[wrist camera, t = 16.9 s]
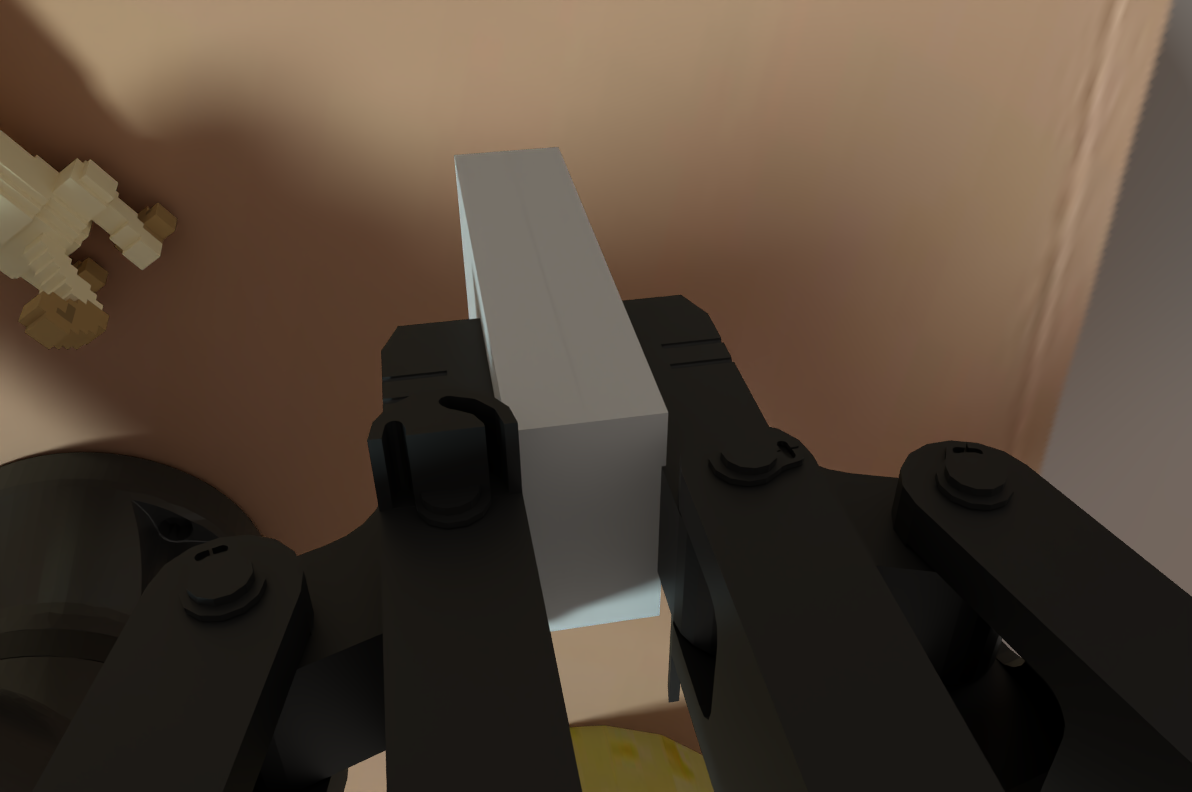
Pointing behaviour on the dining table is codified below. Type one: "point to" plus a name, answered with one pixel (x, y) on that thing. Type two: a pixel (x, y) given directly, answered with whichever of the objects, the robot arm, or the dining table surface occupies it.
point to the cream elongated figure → (67, 240)
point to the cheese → (636, 762)
